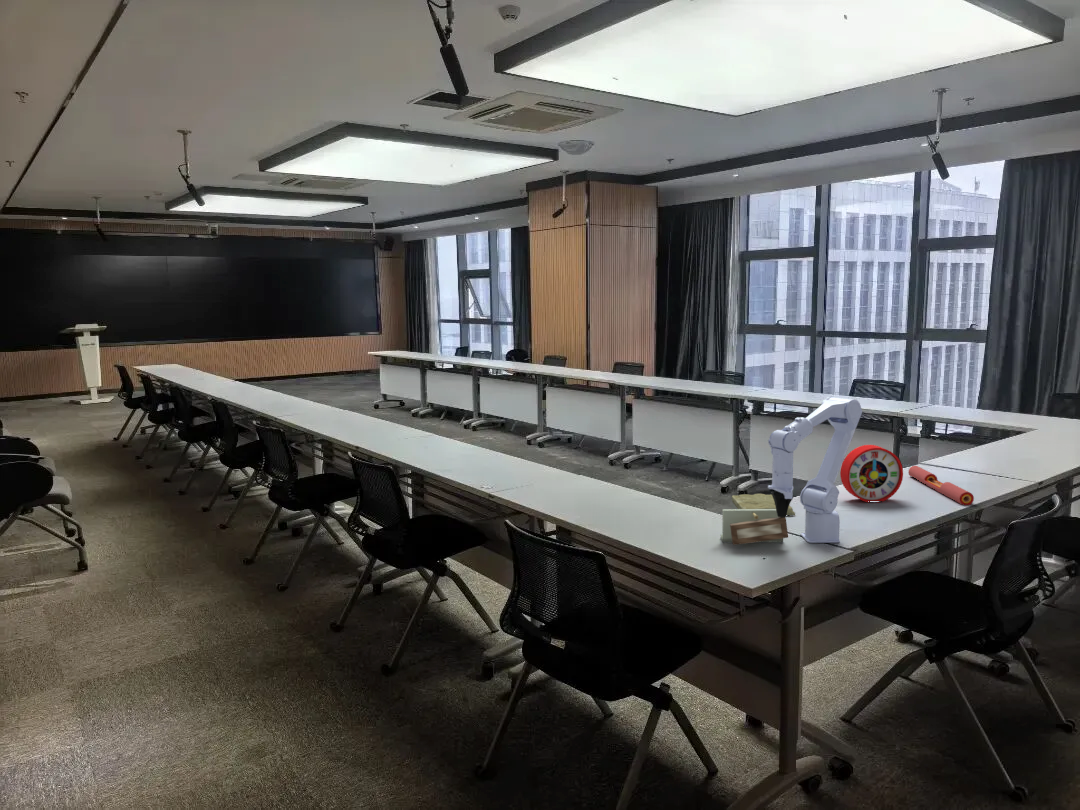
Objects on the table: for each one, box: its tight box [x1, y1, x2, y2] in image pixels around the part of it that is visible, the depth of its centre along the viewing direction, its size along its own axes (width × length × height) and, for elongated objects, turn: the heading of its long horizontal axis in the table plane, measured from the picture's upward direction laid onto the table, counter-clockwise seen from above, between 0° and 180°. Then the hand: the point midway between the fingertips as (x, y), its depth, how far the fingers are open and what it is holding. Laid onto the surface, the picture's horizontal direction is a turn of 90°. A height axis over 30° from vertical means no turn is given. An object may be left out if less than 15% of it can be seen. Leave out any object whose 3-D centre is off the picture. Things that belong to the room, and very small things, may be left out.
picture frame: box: [730, 517, 789, 546], centre depth 217 cm, size 16×2×6 cm, turn 87°
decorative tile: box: [731, 493, 796, 516], centre depth 258 cm, size 19×20×4 cm
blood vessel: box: [908, 465, 975, 506], centre depth 277 cm, size 42×5×5 cm, turn 176°
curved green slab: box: [720, 508, 784, 543], centre depth 222 cm, size 18×8×10 cm, turn 86°
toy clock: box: [839, 444, 904, 503], centre depth 264 cm, size 20×6×20 cm, turn 91°
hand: (781, 516), depth 216 cm, fingers closed
